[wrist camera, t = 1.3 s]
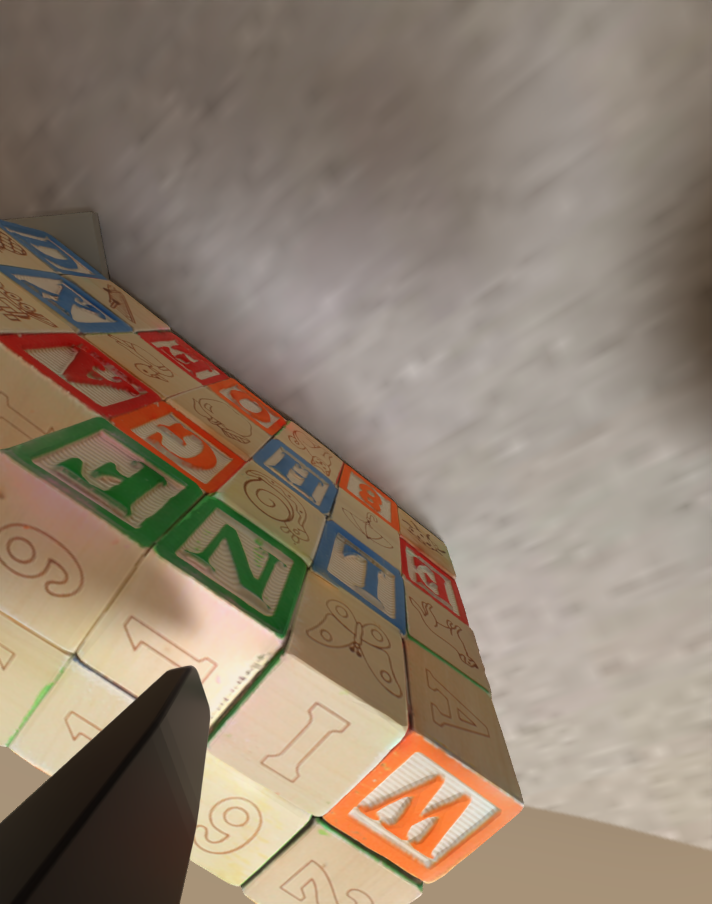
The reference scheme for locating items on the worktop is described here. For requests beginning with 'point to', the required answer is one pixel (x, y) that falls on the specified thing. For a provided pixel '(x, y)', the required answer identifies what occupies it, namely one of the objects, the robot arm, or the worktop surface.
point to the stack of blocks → (230, 602)
